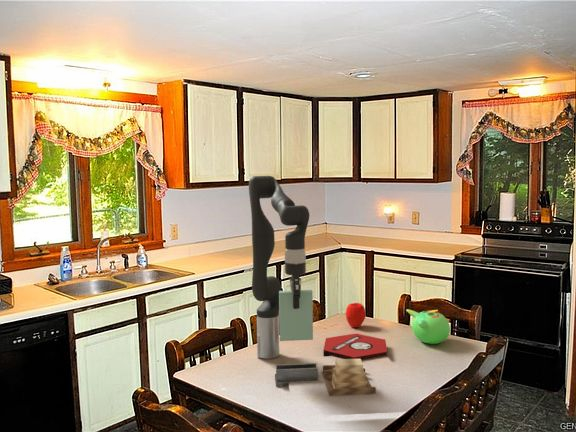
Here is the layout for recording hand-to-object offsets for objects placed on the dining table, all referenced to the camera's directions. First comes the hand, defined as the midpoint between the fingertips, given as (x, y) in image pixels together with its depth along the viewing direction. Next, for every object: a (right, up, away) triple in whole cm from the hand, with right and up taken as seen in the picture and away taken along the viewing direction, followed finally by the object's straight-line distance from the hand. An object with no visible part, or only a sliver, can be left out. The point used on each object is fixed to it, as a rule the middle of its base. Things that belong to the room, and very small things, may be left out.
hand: (295, 307), depth 193 cm
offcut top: (+19, -21, -7) cm, 29 cm away
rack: (+18, -28, -3) cm, 34 cm away
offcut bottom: (+19, -27, -7) cm, 33 cm away
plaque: (+26, -25, +32) cm, 48 cm away
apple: (+30, -21, +67) cm, 76 cm away
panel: (0, -12, +1) cm, 12 cm away
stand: (0, -28, +3) cm, 28 cm away
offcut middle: (+19, -24, -7) cm, 31 cm away
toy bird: (+60, -23, +43) cm, 77 cm away
